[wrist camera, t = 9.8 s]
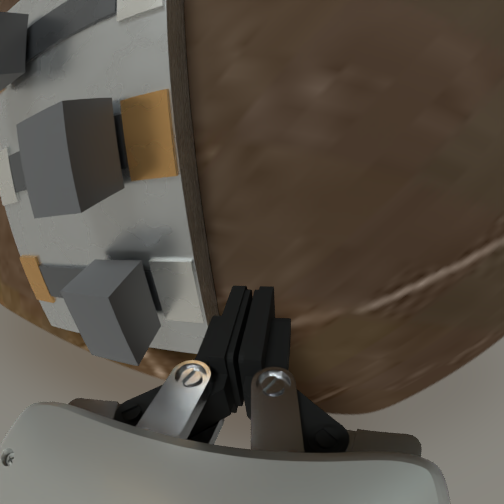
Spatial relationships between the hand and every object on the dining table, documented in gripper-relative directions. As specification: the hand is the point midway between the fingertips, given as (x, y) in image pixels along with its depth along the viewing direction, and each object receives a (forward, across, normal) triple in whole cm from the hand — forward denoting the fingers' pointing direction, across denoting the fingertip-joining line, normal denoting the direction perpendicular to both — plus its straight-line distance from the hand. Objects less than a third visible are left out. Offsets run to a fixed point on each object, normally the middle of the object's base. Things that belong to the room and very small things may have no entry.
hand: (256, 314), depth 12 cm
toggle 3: (+1, +7, 0) cm, 7 cm away
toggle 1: (+1, +13, -15) cm, 20 cm away
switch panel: (+3, +10, -8) cm, 13 cm away
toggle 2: (+1, +7, -8) cm, 10 cm away
